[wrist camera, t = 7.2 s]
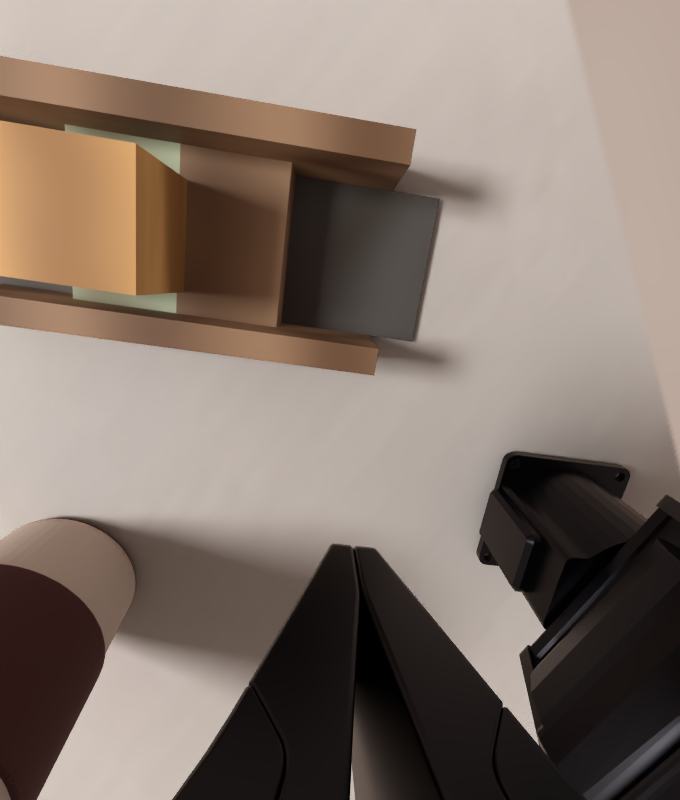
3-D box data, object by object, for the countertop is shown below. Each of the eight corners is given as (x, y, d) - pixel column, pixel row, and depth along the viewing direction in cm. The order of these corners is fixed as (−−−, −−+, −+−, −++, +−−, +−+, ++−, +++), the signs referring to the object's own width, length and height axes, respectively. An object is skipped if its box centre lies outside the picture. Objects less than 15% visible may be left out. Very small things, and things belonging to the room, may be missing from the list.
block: (187, 179, 14) (135, 143, 11) (183, 292, 16) (135, 295, 12) (74, 161, 14) (-21, 117, 10) (79, 276, 15) (-5, 275, 11)
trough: (443, 173, 16) (477, 140, 12) (406, 361, 19) (426, 382, 15) (-66, 87, 15) (-201, 20, 11) (-39, 300, 17) (-143, 305, 13)
